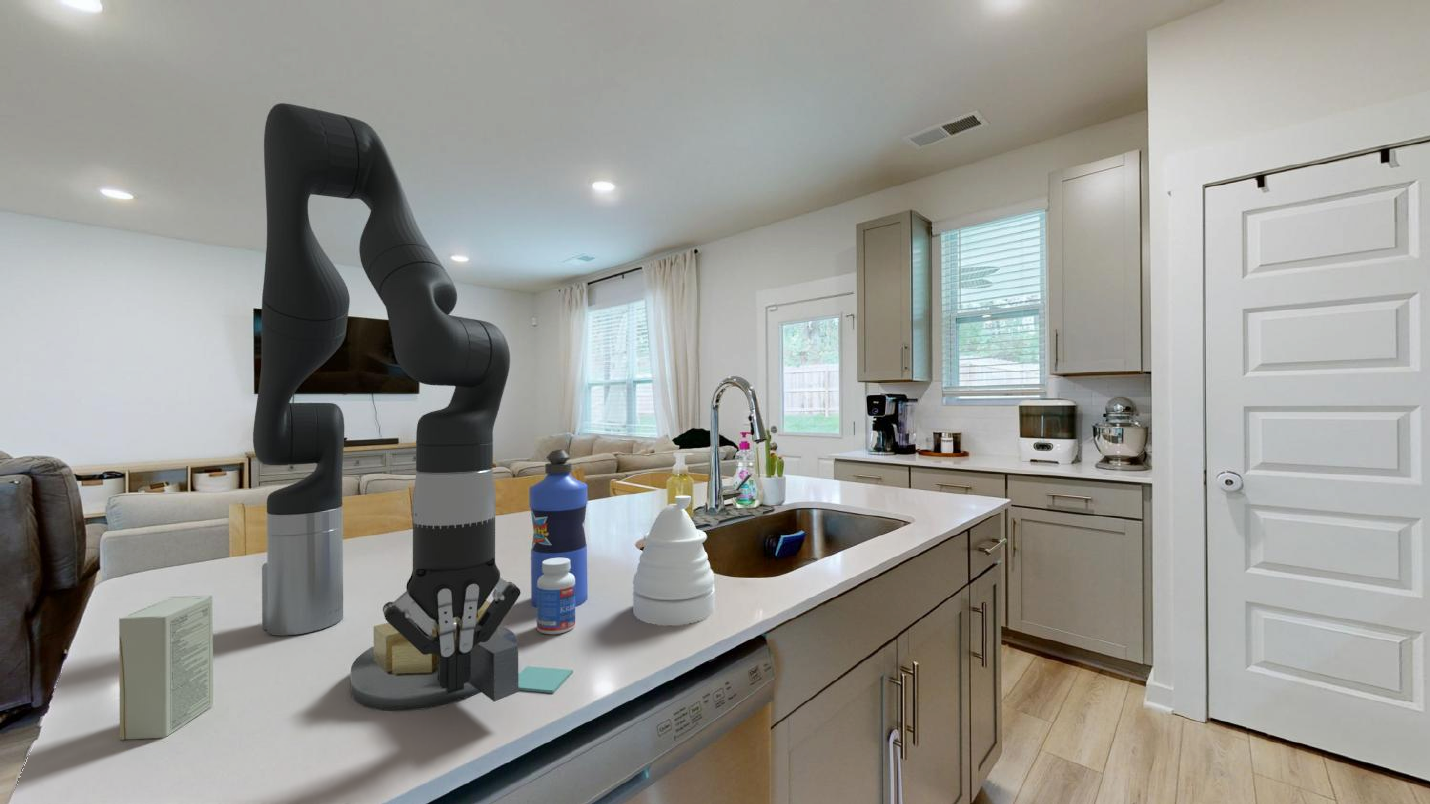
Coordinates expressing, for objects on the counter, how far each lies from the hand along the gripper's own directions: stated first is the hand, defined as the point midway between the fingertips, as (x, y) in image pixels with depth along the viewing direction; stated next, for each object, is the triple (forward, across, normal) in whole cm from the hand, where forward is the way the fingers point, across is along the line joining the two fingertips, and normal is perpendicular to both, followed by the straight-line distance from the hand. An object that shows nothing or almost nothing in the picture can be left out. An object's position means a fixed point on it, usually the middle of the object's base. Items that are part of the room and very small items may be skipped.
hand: (454, 688), depth 57 cm
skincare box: (+5, -24, +19) cm, 31 cm away
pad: (+4, +10, +5) cm, 12 cm away
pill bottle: (+4, +17, +19) cm, 26 cm away
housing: (+4, +1, +15) cm, 15 cm away
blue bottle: (+4, +22, +31) cm, 38 cm away
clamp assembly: (+1, +2, +10) cm, 10 cm away
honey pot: (+4, +35, +16) cm, 38 cm away
